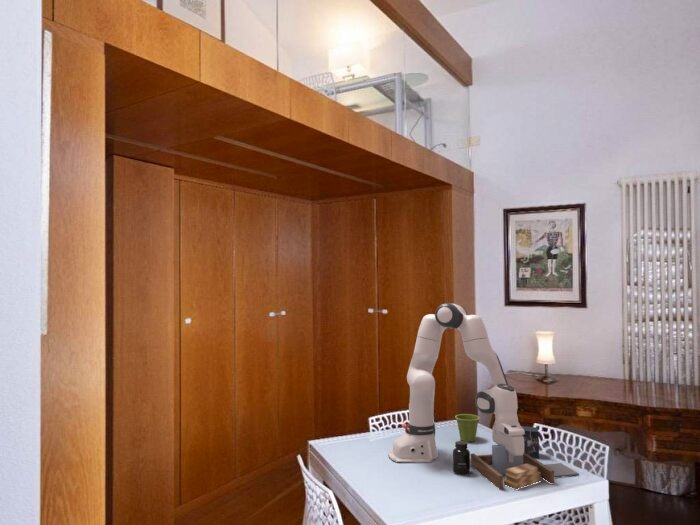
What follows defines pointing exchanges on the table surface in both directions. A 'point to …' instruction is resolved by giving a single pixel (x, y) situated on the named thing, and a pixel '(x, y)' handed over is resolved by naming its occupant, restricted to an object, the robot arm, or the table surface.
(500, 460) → the gray block
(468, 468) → the supplement bottle
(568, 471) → the charcoal mat
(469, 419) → the plant pot
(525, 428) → the small box
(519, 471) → the offcut stack
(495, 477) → the walnut rack
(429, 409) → the robot arm
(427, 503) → the table surface
